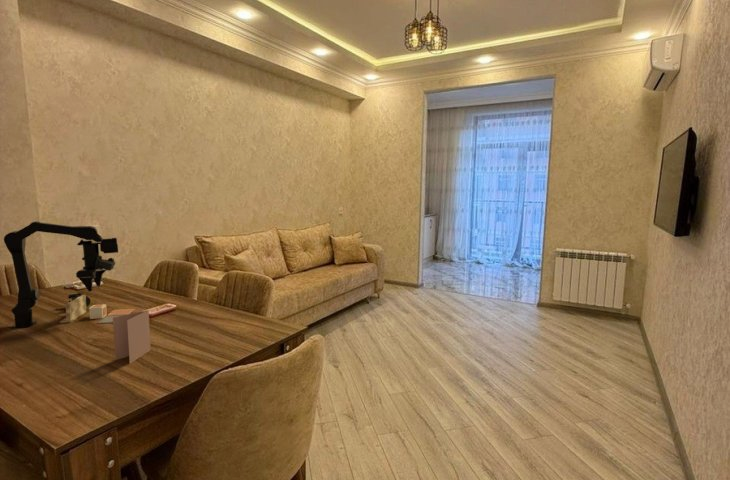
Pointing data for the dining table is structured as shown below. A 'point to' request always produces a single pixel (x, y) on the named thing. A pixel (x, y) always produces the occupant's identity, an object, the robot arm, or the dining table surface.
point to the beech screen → (75, 309)
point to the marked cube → (97, 311)
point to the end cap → (78, 296)
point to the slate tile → (107, 319)
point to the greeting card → (131, 335)
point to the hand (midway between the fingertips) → (94, 288)
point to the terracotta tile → (121, 312)
